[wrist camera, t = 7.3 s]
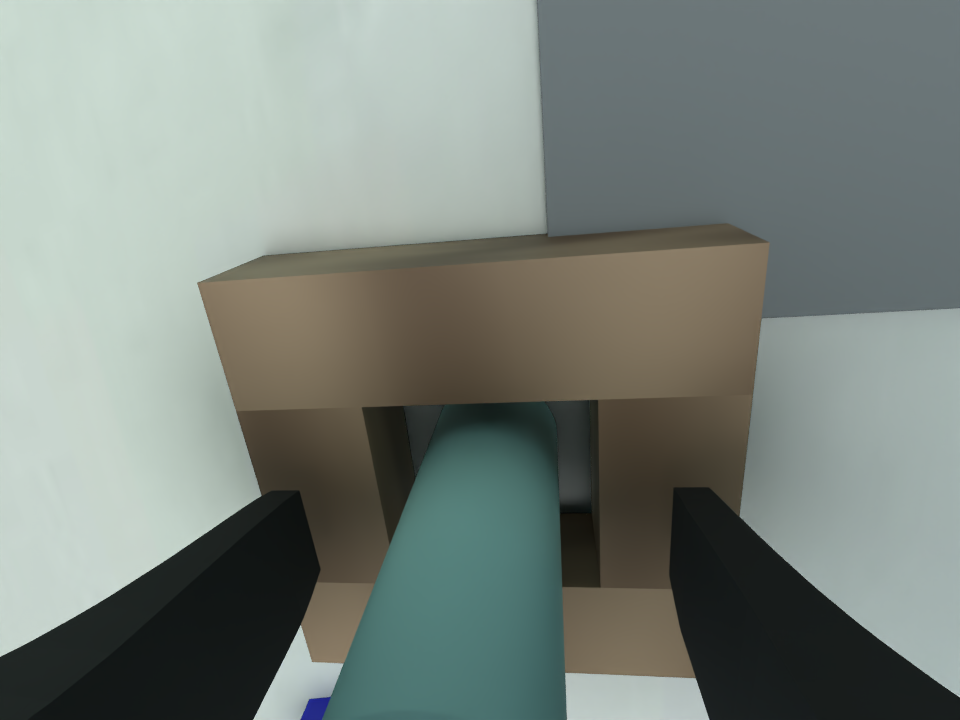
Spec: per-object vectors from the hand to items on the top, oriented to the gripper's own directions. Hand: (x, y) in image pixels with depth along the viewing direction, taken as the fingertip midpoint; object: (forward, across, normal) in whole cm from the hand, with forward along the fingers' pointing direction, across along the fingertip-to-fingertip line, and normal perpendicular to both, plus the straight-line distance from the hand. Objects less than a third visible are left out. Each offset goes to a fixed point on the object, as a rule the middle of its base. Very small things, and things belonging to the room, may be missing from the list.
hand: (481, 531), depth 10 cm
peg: (+3, 0, 0) cm, 3 cm away
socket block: (+3, 0, 0) cm, 3 cm away
